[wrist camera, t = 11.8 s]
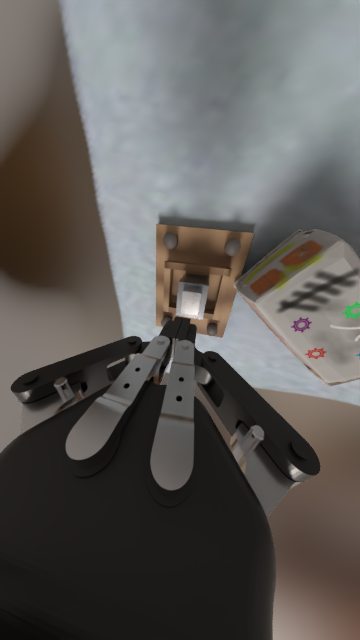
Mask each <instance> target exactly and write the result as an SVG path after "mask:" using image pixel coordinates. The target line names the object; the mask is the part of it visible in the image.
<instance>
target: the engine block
mask: <svg viewBox="0 0 360 640" xmlns="http://www.w3.org/2000/svg"><path fill="white" fill-rule="evenodd" d="M208 289H209V276H204V275H196V274H188V273H185V274H184V275H183V277H182V278H181V279H180V280H179V281H178V293H177V306H176V315H178V316H184V317H189V318H195V319H201V320H203V315H204V310H205V304H206V299H207V294H208Z"/></svg>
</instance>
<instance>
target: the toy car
mask: <svg viewBox="0 0 360 640" xmlns="http://www.w3.org/2000/svg"><path fill="white" fill-rule="evenodd" d="M298 232H299V233H298ZM297 233H298V234H297ZM235 285H236V286H235ZM234 287H235V288H236V289H237V291H238V292H239V294H240V295H241V296H242V298H243V299H244V300H245V301H246V303H247V304H248V305H249V306H250V307H251V309H252V310H253V311H254V312H255V313H256V314H257V315H258V316H259V318H260V319H261V320H262V321H263V322H264V323H265V324H266V326H267V327H268V328H269V329H270V330H271V331H272V332H273V333H274V334H275V335H276V336H277V338H278V339H279V340H280V341H281V342H282V343H283V344H284V345H285V346H286V347H287V348H288V349H289V350H290V351H291V352H292V353H293V354H294V355H295V356H296V357H297V358H298V359H299V360H300V361H301V362H302V363H303V364H304V365H305V366H306V367H307V368H308V369H309V370H310V371H311V372H312V373H313V374H314V375H315V376H316V377H317V378H318V379H319V380H320V381H321V382H323V383H324V384H325V385H326V386H333V385H338V384H342V383H346V382H350V381H354V380H358V379H360V258H359V257H358V255H357V254H356V253H355V251H354V250H353V249H352V247H351V246H350V244H348V243H347V242H345V241H344V240H343V239H341V238H340V237H338V236H336V235H335V234H332V233H329V232H326V231H323V230H320V229H312V230H307V231H304V232H303V230H302V229H297V230H296V231H295V232H293V233H292V234H291V235H290V236H288V237H287V238H286V239H285V240H284V241H282V242H281V243H280V244H279V245H278V246H277V247H275V248H274V249H273V250H272V251H271V252H269V253H268V254H267V255H266V256H265V257H263V258H262V259H261V260H260V261H259V262H258V263H257V264H255V265H254V266H253V267H252V268H251V269H250V270H249V271H247V272H246V273H245V274H244V275H243V276H242V277H241V278H239V279H238V280H237V281H236V282H235V283H234Z"/></svg>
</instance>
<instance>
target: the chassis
mask: <svg viewBox="0 0 360 640" xmlns="http://www.w3.org/2000/svg"><path fill="white" fill-rule="evenodd" d="M253 235H254V233H249V232H238V231H227V230H216V229H205V228H194V227H183V226H172V225H161V224H157V233H156V326H161V327H164V326H165V324H166V322H168V321H169V320H172V321H174V319H175V317H176V316H178V315H176V306H177V293H178V281H179V280H180V279H181V278H182V277H183V275H184V274H185V273H188V274H196V275H204V276H209V289H208V294H207V299H206V304H205V310H204V315H203V320H201V319H195V318H190V319H191V322H190V324H195V325H196V327H197V331H196V333H199V334H205V335H209V336H216V337H221V338H222V337H223V334H224V331H225V327H226V324H227V321H228V318H229V314H230V311H231V308H232V304H233V301H234V298H235V295H236V291H237V289H236V288H235V287H234V283H235V282H236V281H237V280H238V279H239V278H241V275H242V272H243V268H244V265H245V262H246V258H247V255H248V252H249V249H250V245H251V242H252V239H253ZM235 286H236V285H235ZM178 317H183V318H189V317H184V316H178Z"/></svg>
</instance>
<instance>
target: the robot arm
mask: <svg viewBox="0 0 360 640" xmlns="http://www.w3.org/2000/svg"><path fill="white" fill-rule="evenodd" d="M190 322H191V319H190V318H183V317H178V316H176V317H175V319H174V321H172V320H169V321H168V322H166V324H165V326H164V327H163V329H162V331H161V333H160V334H159V336H156V337H154V338H153V339H152V341H150V342H142V340H141V338H139V337H137V336H131V337H127V338H124V339H122V340H119V341H116V342H113V343H110V344H107V345H105V346H102V347H99V348H96V349H93V350H90V351H87V352H85V353H82V354H79V355H76V356H74V357H70V358H67V359H65V360H62V361H59V362H56V363H53V364H50V365H48V366H45V367H42V368H39V369H36V370H33V371H31V372H28V373H26V374H24V375H22V376H21V377H19V378H18V379H17V380H16V381H15V382H14V383H13V384H12V386H11V391H12V392H13V393H14V394H15V395H16V397H17V398H18V400H19V402H20V403H21V404H22V405H23V407H22V420H21V434H20V435H19V436H18V437H17V438H16V439H14V440H13V441H12V442H11V443H10V444H9V445H8V446H7V447H6V448H5V449H4V450H3V451H2V452H1V453H0V640H272V620H273V602H274V593H275V585H276V557H275V548H274V543H273V538H272V534H271V529H270V526H269V523H268V520H267V517H268V516H269V515H270V514H271V512H272V511H273V510H274V508H275V507H276V506H277V504H278V503H279V502H280V501H281V499H282V498H283V497H284V495H285V494H286V493H287V491H288V490H289V489H291V488H292V487H294V486H296V485H298V484H300V483H302V482H304V481H305V480H307V479H309V478H311V477H313V476H315V475H317V474H318V473H319V471H320V463H319V459H318V457H317V455H316V453H315V451H314V450H313V448H312V447H311V446H310V445H309V443H307V441H306V440H305V439H304V438H303V437H302V436H301V435H300V434H298V432H297V431H296V430H295V429H294V428H292V426H291V425H289V423H287V421H285V419H284V418H283V417H282V416H281V415H280V414H279V413H277V412H276V411H275V410H274V409H273V408H272V407H271V406H270V405H269V404H268V403H267V402H266V401H265V400H264V399H263V398H262V397H261V396H260V395H259V394H258V393H257V392H256V391H255V390H254V389H253V388H252V387H251V386H250V385H249V384H248V383H247V382H246V381H245V380H244V379H243V378H242V377H241V376H240V375H239V374H238V373H237V372H236V371H235V370H234V369H233V368H232V367H231V366H230V365H229V364H228V363H227V362H226V361H225V360H224V359H223V358H222V357H221V356H220V355H219V354H218V353H216V352H213V351H207V352H205V353H202V352H200V351H198V350H197V349H196V348H195V338H196V331H197V327H196V325H195V324H190ZM124 357H125V361H123V362H120V363H119V364H116V365H114V366H112V367H109V368H107V366H108V365H109V364H111V363H112V362H115V361H117V360H120V359H122V358H124ZM170 360H173V362H172V364H171V368H170V373H169V378H168V382H167V385H160V384H161V382H162V379H163V377H164V375H165V373H166V371H167V368H168V364H169V361H170ZM194 380H195V381H197V385H198V387H199V388H200V390H201V391H202V393H203V394H204V396H205V397H206V399H207V400H208V402H209V403H210V405H211V406H212V408H213V409H214V411H215V412H216V414H217V415H218V416H219V418H220V420H221V421H222V423H223V424H224V426H225V427H226V429H227V430H228V432H229V433H230V435H231V436H232V438H231V449H232V452H233V453H234V456H235V458H236V459H235V458H234V456H233V454H232V453H231V451H230V449H229V448H228V446H227V444H226V442H225V441H224V439H223V437H222V435H221V434H220V432H219V430H218V429H217V427H216V425H215V423H214V422H213V420H212V418H211V416H210V415H209V413H208V411H207V410H206V408H205V407H204V405H203V404H202V403H201V402H200V401H199V400H198V399H197V398H196V397H195V396H194Z"/></svg>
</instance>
